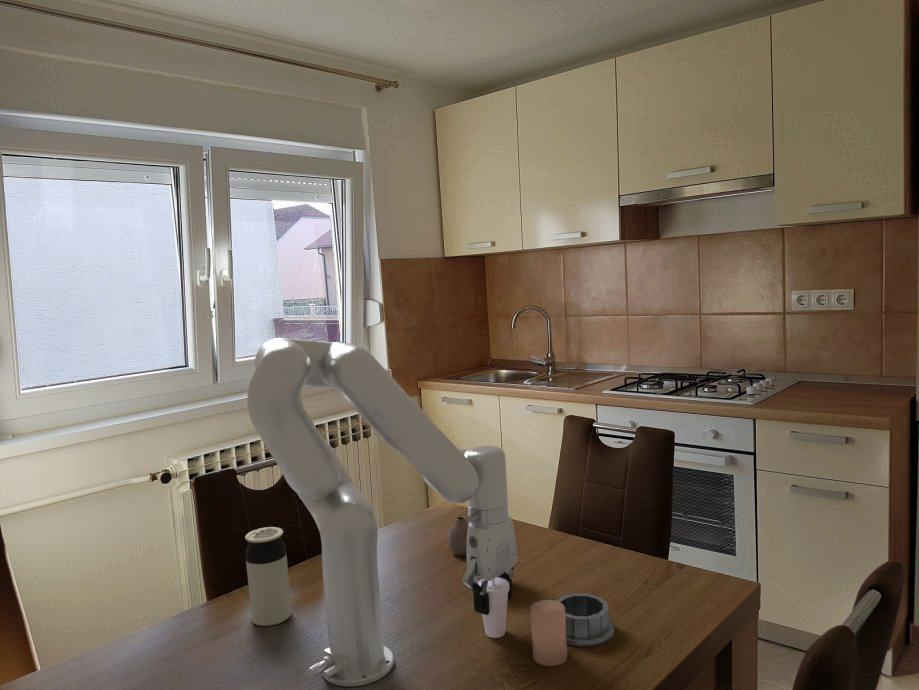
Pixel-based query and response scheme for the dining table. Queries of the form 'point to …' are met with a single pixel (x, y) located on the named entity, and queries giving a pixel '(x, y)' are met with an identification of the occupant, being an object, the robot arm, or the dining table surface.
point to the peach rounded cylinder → (549, 632)
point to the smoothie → (496, 607)
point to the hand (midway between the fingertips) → (493, 604)
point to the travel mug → (267, 576)
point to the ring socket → (586, 620)
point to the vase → (458, 536)
